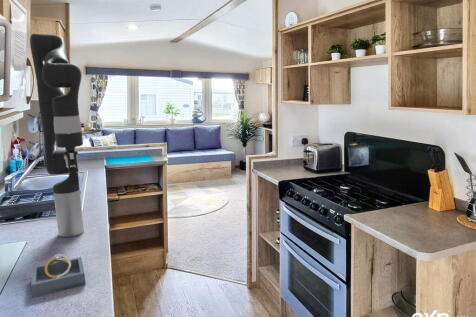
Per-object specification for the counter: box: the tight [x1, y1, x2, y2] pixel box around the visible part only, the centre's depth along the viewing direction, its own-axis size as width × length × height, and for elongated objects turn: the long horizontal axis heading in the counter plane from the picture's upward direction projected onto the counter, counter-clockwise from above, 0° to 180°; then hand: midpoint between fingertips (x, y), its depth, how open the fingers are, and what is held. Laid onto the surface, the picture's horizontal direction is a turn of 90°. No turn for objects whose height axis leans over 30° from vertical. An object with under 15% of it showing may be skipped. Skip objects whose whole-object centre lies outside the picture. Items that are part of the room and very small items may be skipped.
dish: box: [30, 256, 86, 298], centre depth 102 cm, size 12×13×4 cm
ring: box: [44, 253, 72, 279], centre depth 104 cm, size 7×3×8 cm
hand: (74, 182), depth 111 cm, fingers open, 8 cm apart
